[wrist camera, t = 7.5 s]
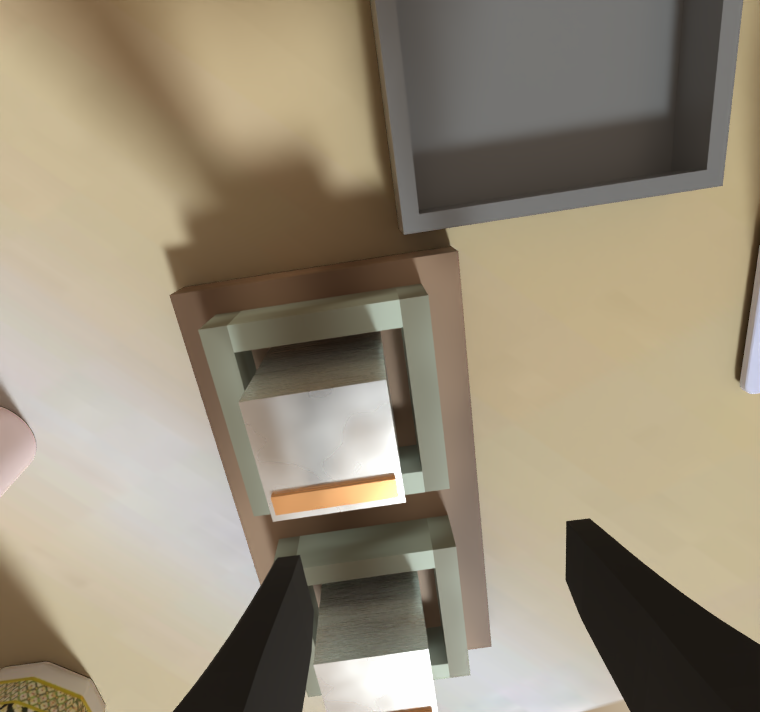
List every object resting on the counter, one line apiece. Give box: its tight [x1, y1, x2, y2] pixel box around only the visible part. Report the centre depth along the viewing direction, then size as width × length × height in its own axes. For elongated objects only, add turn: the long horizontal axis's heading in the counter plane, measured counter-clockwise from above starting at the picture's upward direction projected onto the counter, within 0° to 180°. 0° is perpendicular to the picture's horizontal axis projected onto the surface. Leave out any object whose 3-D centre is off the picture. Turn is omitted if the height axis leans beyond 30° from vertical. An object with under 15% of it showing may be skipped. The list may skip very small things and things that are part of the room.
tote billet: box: [238, 331, 406, 522], centre depth 16 cm, size 4×4×5 cm
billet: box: [313, 571, 438, 712], centre depth 20 cm, size 4×4×5 cm
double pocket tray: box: [170, 246, 491, 697], centre depth 21 cm, size 11×21×4 cm, turn 8°
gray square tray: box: [370, 0, 743, 235], centre depth 15 cm, size 11×11×2 cm
